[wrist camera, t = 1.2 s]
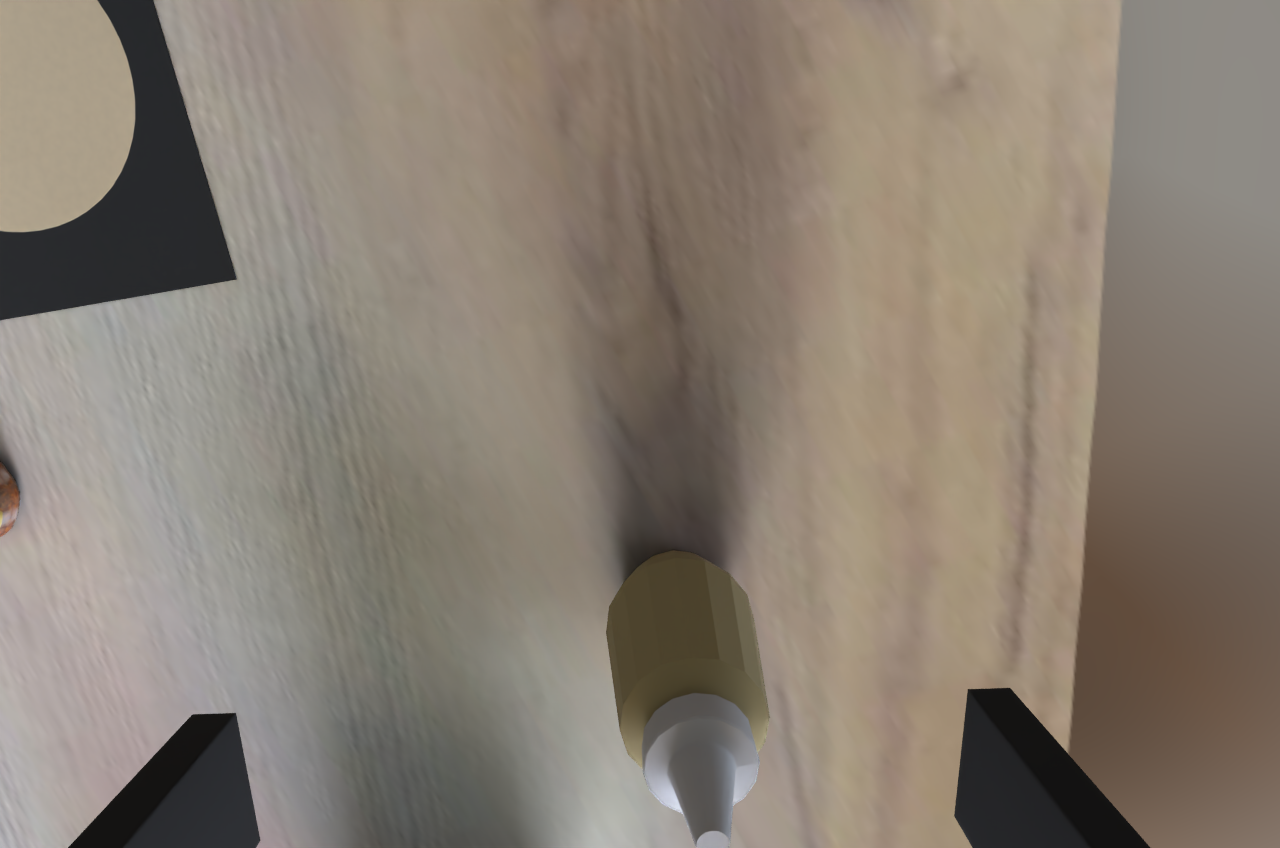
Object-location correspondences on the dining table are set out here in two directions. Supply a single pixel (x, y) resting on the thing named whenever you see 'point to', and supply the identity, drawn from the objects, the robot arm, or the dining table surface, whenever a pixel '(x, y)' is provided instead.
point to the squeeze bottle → (689, 688)
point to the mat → (97, 161)
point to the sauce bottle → (8, 500)
